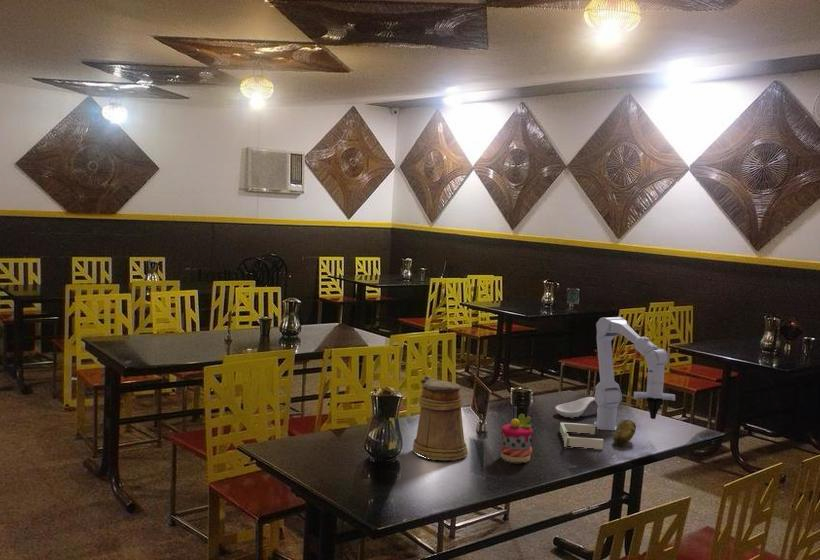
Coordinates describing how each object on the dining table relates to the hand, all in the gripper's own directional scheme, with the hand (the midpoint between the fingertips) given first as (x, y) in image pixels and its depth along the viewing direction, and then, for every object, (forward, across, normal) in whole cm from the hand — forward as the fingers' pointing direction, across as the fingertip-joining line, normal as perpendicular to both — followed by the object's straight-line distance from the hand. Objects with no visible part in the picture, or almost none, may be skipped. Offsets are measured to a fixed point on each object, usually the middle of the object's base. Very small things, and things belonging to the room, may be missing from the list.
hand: (652, 418), depth 275 cm
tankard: (+10, -78, -25) cm, 83 cm away
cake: (+10, -51, -27) cm, 59 cm away
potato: (+10, -10, 0) cm, 14 cm away
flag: (+10, -33, -12) cm, 36 cm away
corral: (+10, -25, 0) cm, 27 cm away
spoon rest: (+10, -21, +36) cm, 43 cm away
